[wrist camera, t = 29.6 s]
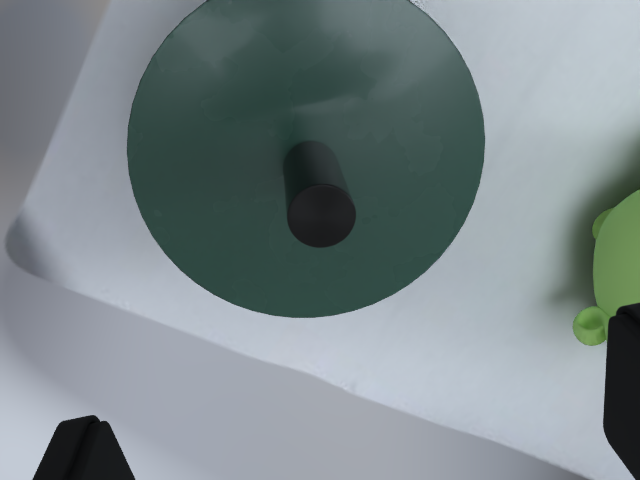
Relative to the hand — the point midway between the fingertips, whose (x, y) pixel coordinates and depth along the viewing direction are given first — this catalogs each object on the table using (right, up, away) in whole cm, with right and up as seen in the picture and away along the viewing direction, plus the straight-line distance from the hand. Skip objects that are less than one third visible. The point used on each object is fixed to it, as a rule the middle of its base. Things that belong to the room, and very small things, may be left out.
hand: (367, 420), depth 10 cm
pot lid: (-1, +7, +14) cm, 16 cm away
